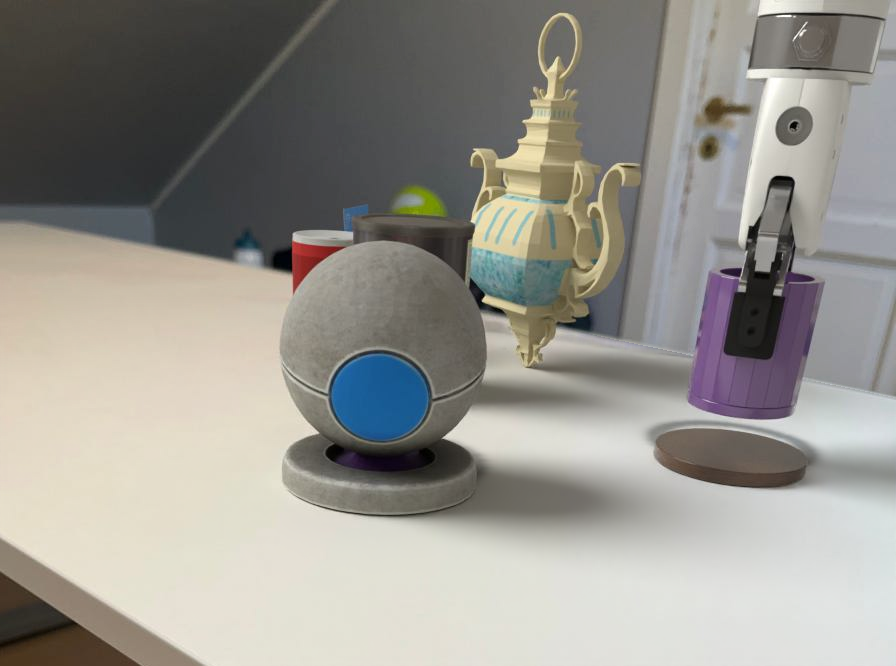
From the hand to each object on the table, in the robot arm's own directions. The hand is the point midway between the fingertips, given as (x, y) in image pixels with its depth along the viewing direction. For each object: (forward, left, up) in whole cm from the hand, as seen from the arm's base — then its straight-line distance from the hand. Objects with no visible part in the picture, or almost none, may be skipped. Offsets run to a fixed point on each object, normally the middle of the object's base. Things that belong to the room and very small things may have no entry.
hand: (753, 344), depth 69 cm
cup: (0, 0, -4) cm, 4 cm away
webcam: (+21, +17, -9) cm, 28 cm away
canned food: (+42, -18, -9) cm, 47 cm away
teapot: (+22, -22, -9) cm, 32 cm away
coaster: (0, 0, -9) cm, 9 cm away
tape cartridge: (+45, -34, -9) cm, 57 cm away
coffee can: (+29, -7, -9) cm, 31 cm away
